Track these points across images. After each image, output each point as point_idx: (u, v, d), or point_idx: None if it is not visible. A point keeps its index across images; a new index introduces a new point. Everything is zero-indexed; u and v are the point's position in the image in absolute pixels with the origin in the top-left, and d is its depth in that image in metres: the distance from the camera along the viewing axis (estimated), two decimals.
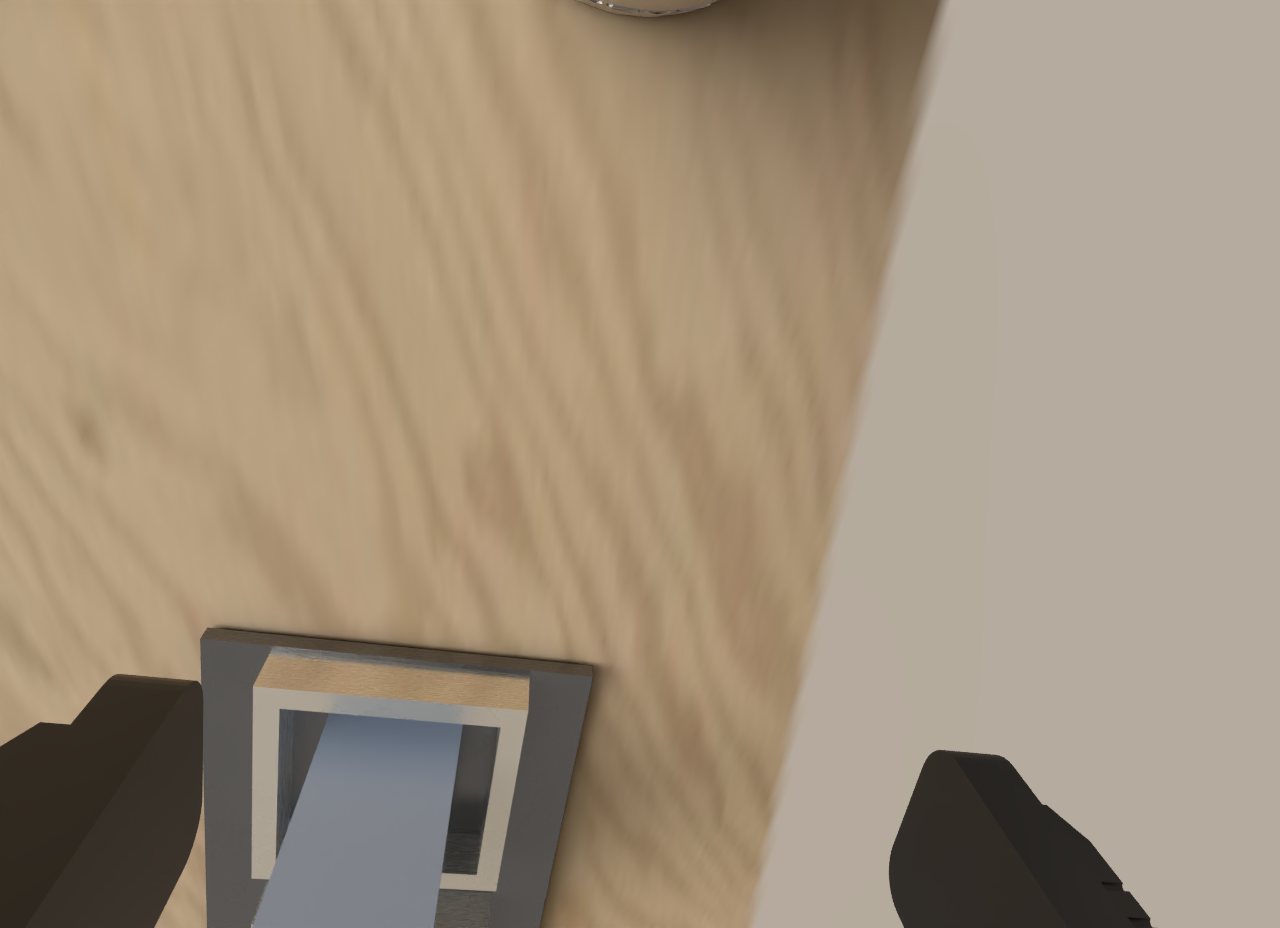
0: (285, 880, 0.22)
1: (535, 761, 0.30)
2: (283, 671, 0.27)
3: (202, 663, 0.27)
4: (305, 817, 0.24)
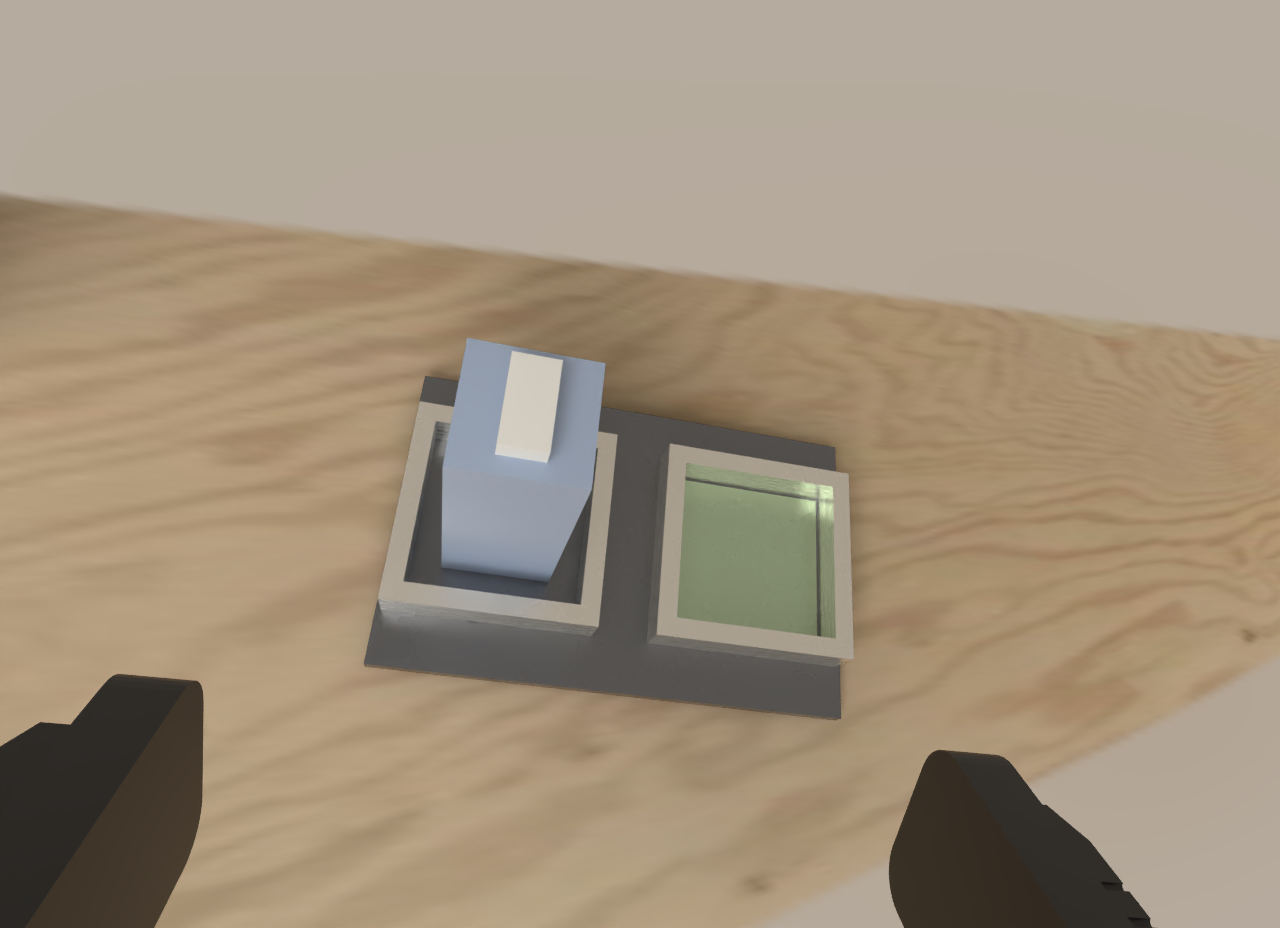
0: None
1: None
2: None
3: (390, 665, 0.32)
4: None
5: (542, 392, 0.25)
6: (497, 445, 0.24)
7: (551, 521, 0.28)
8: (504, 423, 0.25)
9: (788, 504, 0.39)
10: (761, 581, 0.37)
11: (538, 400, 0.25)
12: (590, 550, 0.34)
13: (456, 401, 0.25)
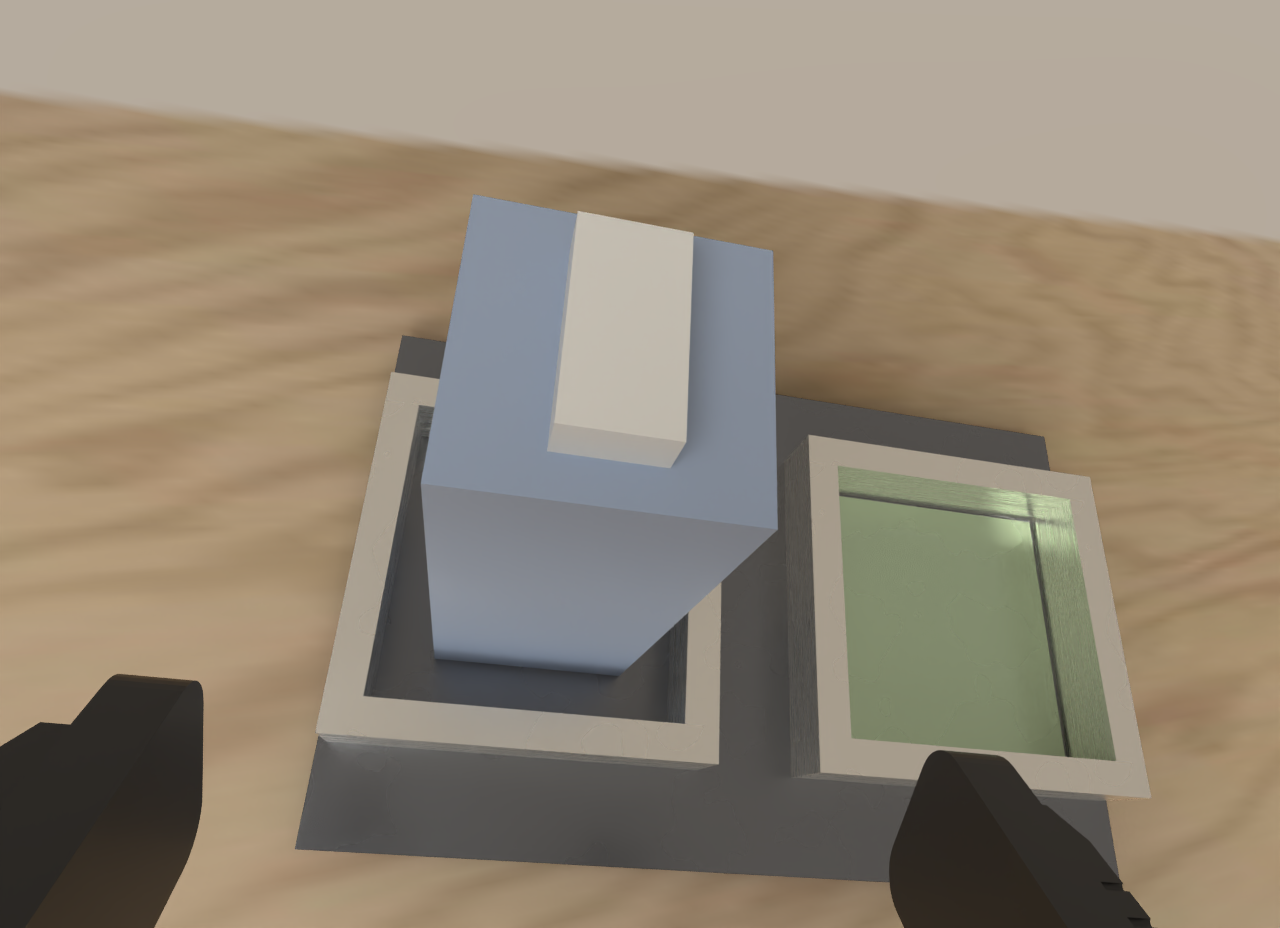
0: None
1: None
2: None
3: (344, 849, 0.18)
4: None
5: (654, 302, 0.11)
6: (556, 427, 0.10)
7: (657, 591, 0.13)
8: (570, 372, 0.10)
9: (988, 528, 0.24)
10: (963, 657, 0.23)
11: (646, 320, 0.11)
12: (694, 622, 0.20)
13: (452, 329, 0.11)
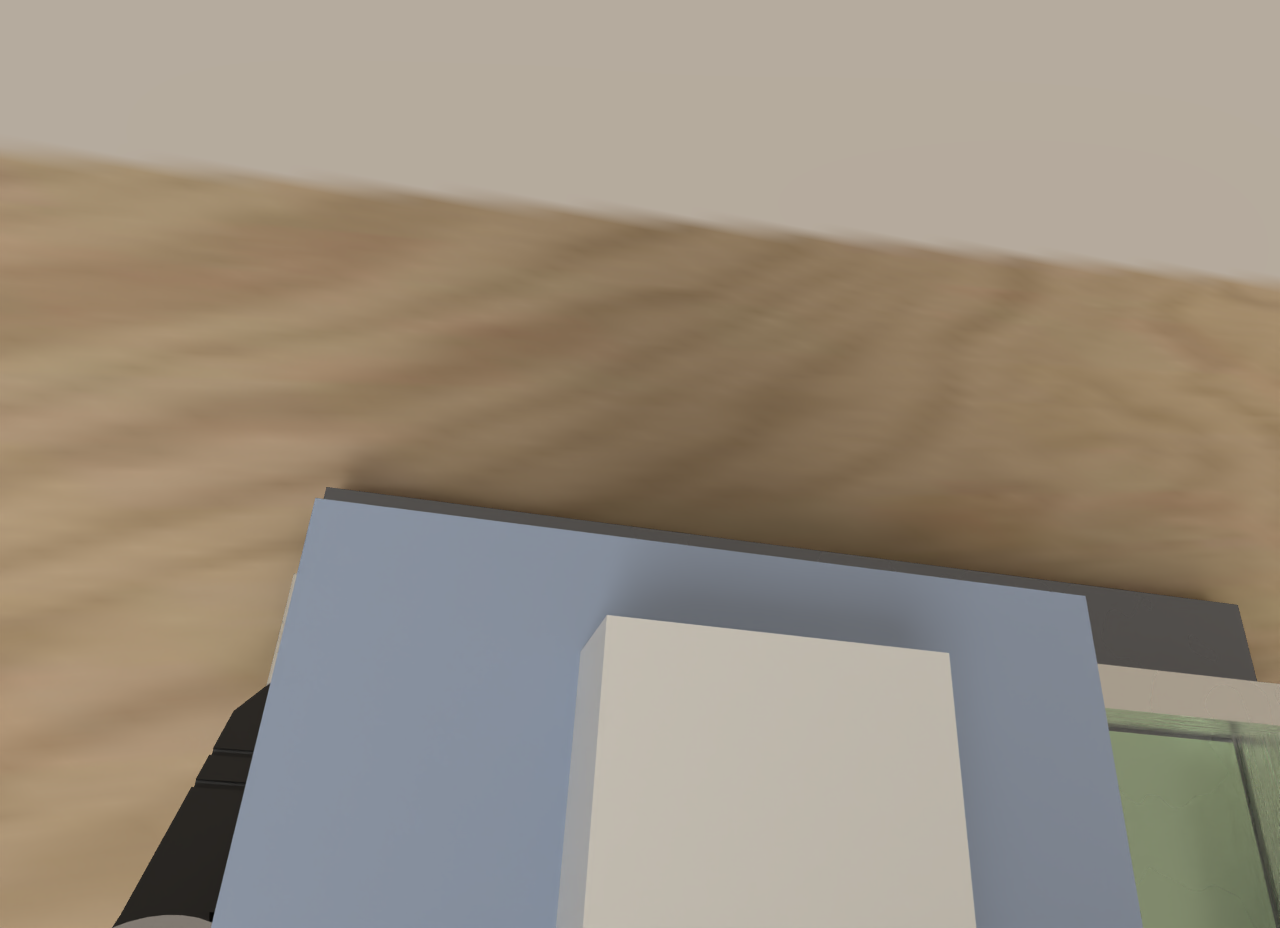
0: None
1: None
2: None
3: None
4: None
5: None
6: None
7: None
8: None
9: (1178, 754, 0.17)
10: None
11: None
12: None
13: None
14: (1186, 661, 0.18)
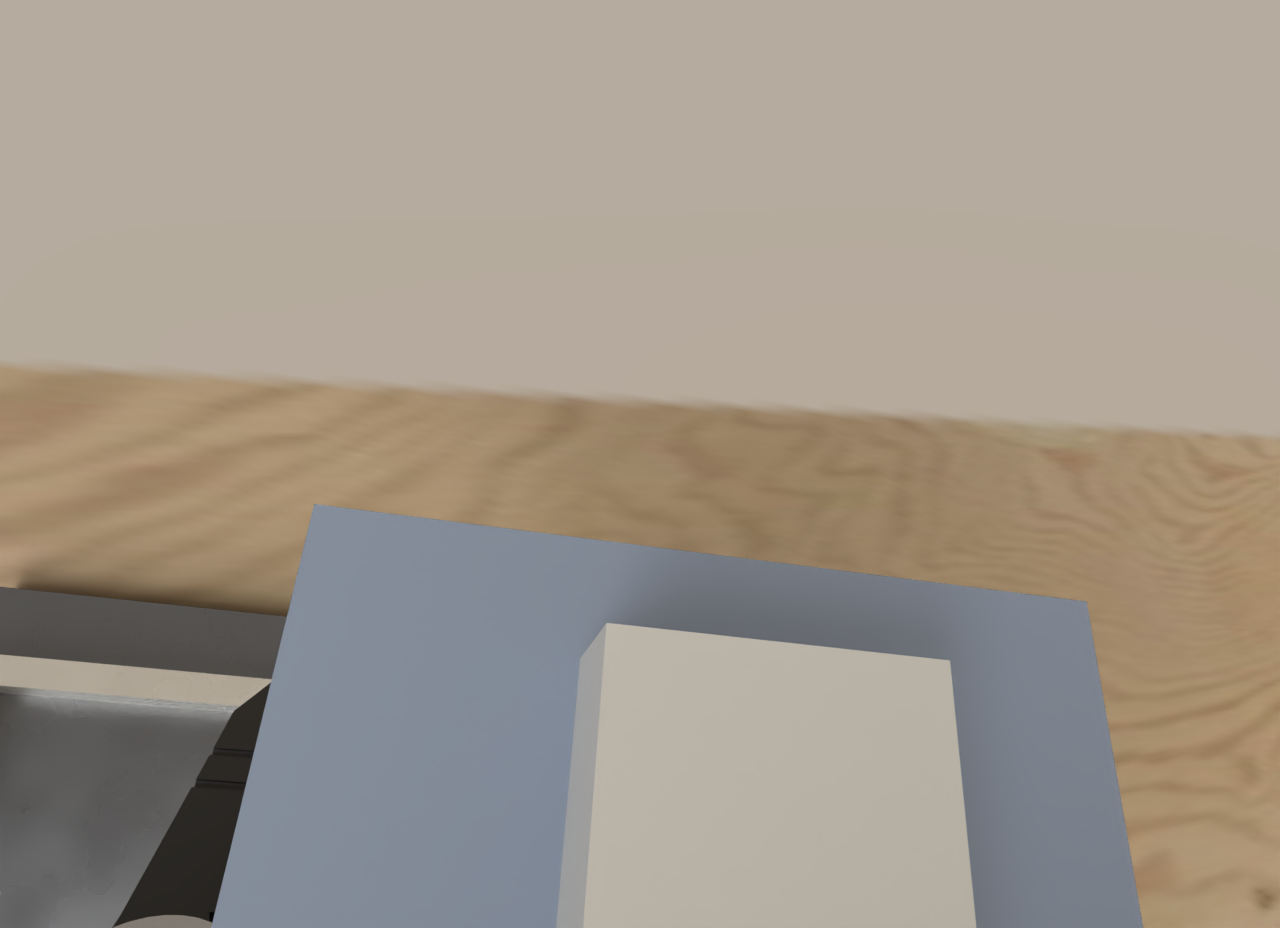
0: None
1: (129, 648, 0.25)
2: None
3: None
4: None
5: None
6: None
7: None
8: None
9: None
10: None
11: None
12: None
13: None
14: None
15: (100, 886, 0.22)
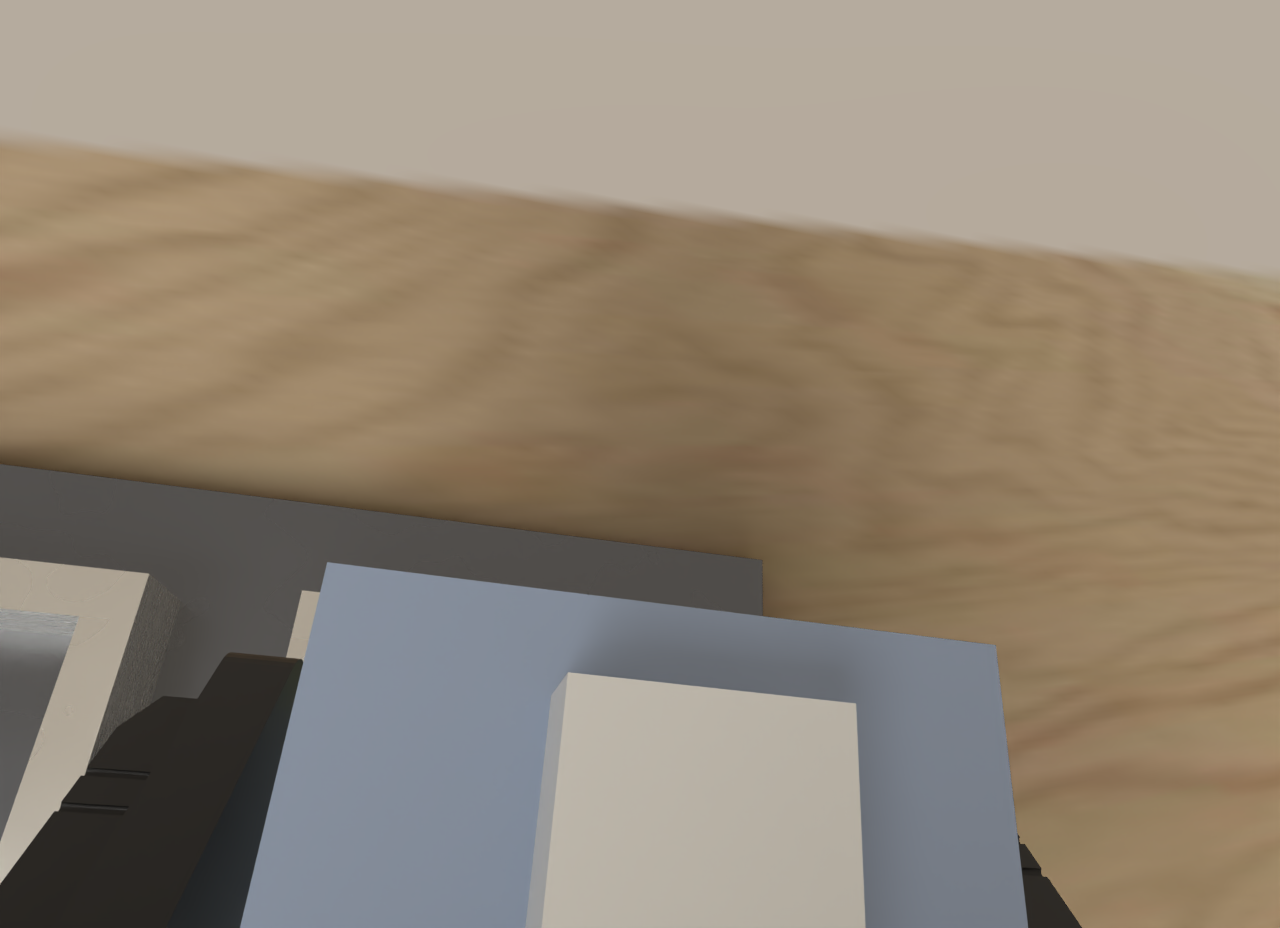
0: None
1: None
2: None
3: None
4: None
5: None
6: None
7: None
8: None
9: None
10: None
11: None
12: None
13: None
14: None
15: None
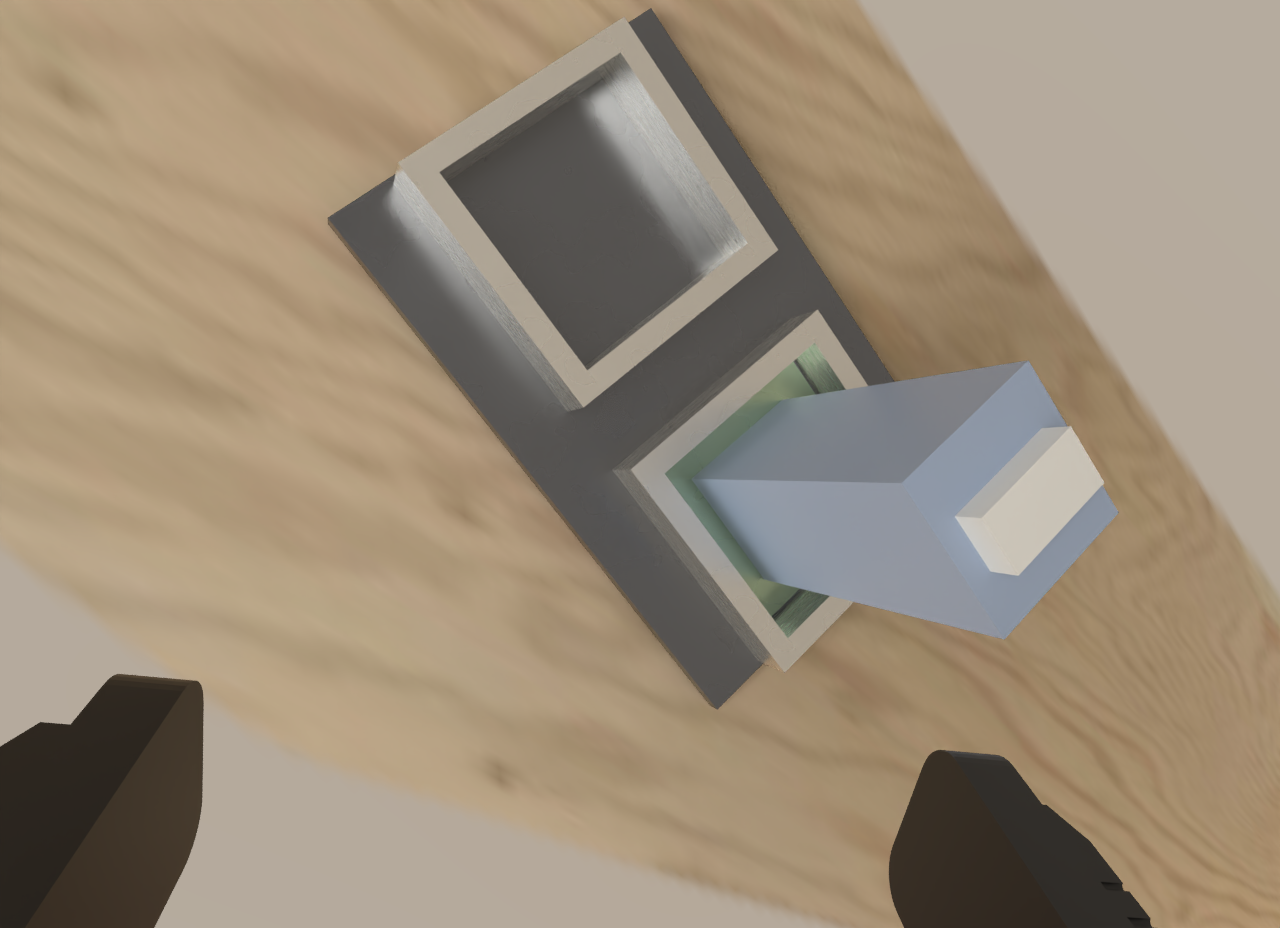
0: (810, 471, 0.22)
1: None
2: None
3: (351, 246, 0.24)
4: (769, 471, 0.23)
5: (1061, 501, 0.18)
6: (978, 519, 0.17)
7: (890, 591, 0.22)
8: (1004, 501, 0.18)
9: None
10: None
11: (1051, 505, 0.18)
12: (646, 330, 0.26)
13: (966, 422, 0.18)
14: None
15: (571, 266, 0.27)
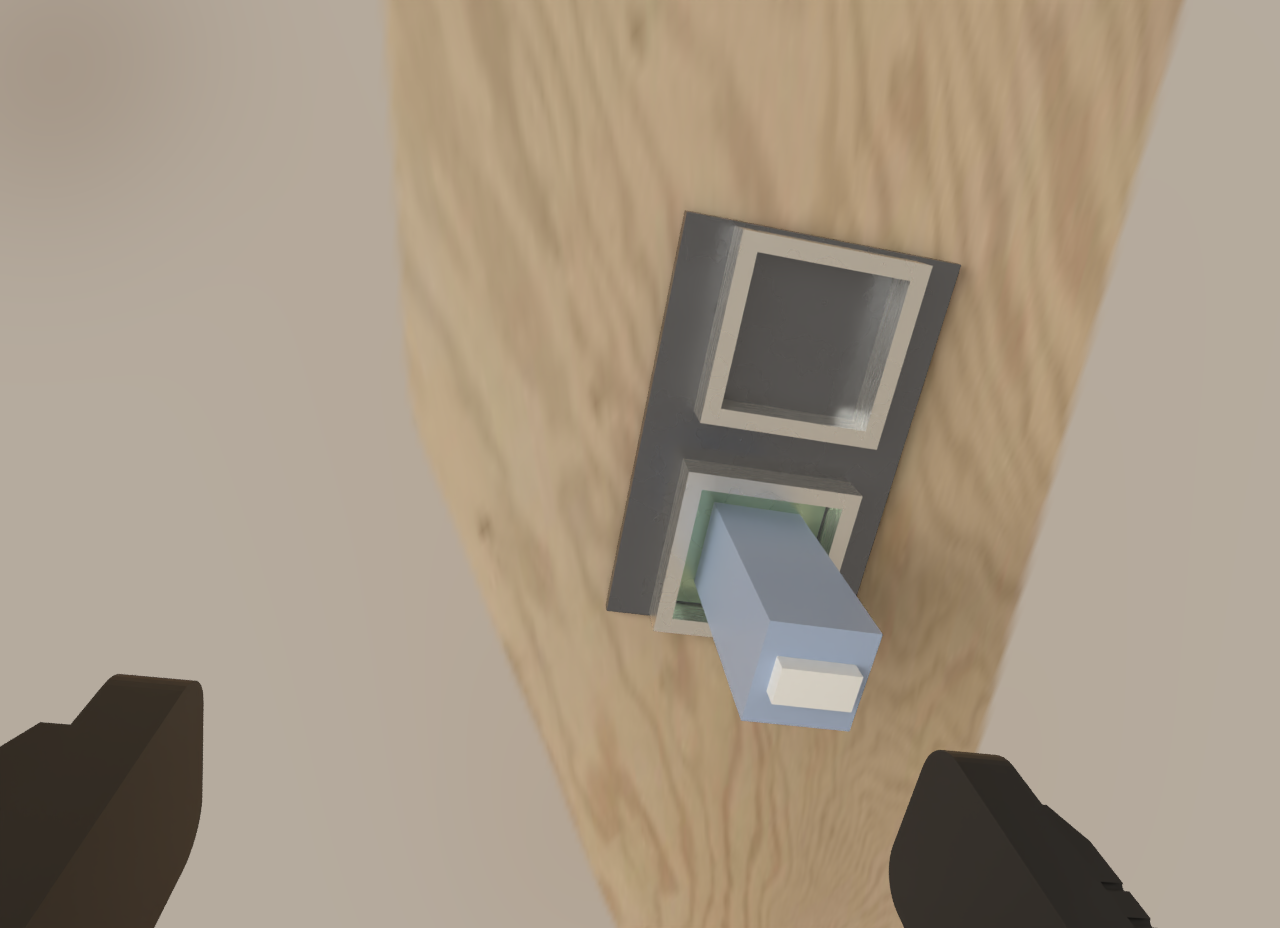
0: (754, 569, 0.34)
1: None
2: (754, 230, 0.35)
3: (683, 235, 0.36)
4: (742, 546, 0.36)
5: (823, 698, 0.31)
6: (781, 667, 0.30)
7: (728, 653, 0.35)
8: (799, 673, 0.30)
9: None
10: None
11: (817, 695, 0.31)
12: (769, 419, 0.38)
13: (825, 628, 0.31)
14: None
15: (773, 348, 0.38)
